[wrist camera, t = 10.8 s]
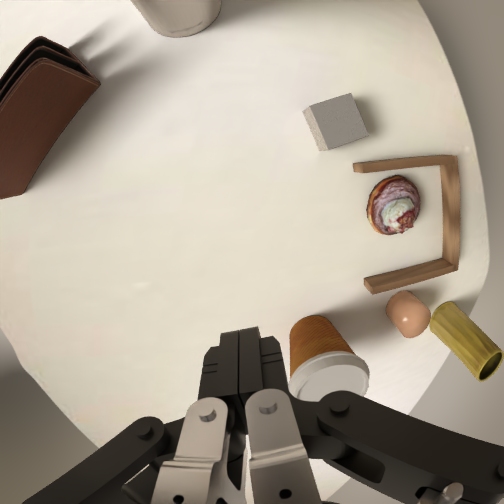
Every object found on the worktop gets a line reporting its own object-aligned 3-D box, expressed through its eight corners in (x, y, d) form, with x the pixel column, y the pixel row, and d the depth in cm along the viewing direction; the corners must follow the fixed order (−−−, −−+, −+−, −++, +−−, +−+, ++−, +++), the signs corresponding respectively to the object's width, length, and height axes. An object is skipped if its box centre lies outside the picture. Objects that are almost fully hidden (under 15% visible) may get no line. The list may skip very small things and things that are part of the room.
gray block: (302, 111, 30) (309, 106, 26) (339, 99, 30) (351, 92, 26) (318, 150, 32) (328, 150, 28) (355, 137, 31) (368, 135, 27)
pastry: (375, 243, 36) (392, 255, 31) (354, 191, 33) (371, 196, 29) (421, 216, 34) (442, 225, 30) (404, 165, 32) (425, 168, 28)
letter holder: (103, 83, 28) (37, 56, 15) (23, 195, 32) (-45, 216, 18) (68, 47, 26) (6, 18, 12) (-4, 153, 29) (-68, 163, 16)
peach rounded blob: (386, 294, 38) (401, 311, 33) (415, 286, 38) (432, 302, 33) (385, 323, 39) (399, 342, 35) (413, 315, 39) (428, 332, 34)
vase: (423, 333, 40) (468, 387, 27) (437, 300, 38) (490, 349, 25) (448, 333, 41) (492, 381, 27) (461, 301, 39) (512, 346, 25)
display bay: (352, 163, 32) (362, 164, 29) (444, 154, 32) (457, 155, 29) (364, 284, 37) (372, 294, 34) (446, 263, 36) (458, 270, 34)
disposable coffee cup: (355, 317, 39) (389, 371, 27) (321, 366, 41) (341, 425, 30) (298, 294, 37) (318, 350, 26) (266, 349, 40) (272, 412, 28)
